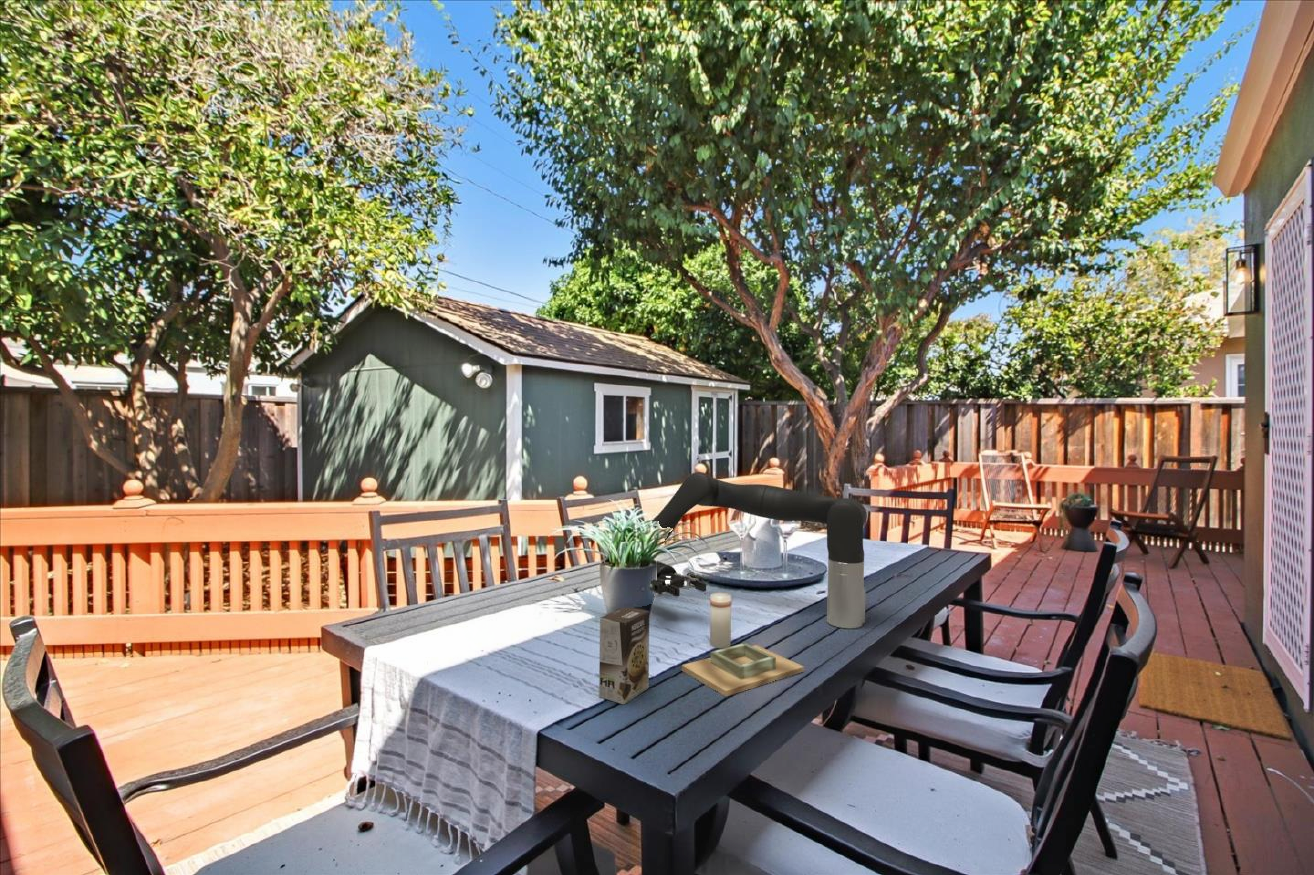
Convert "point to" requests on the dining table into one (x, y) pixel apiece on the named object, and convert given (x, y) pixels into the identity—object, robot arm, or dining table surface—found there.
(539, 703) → the dining table surface
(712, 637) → the cream lidded bottle
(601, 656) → the coffee box
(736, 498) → the robot arm
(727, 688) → the end holder
